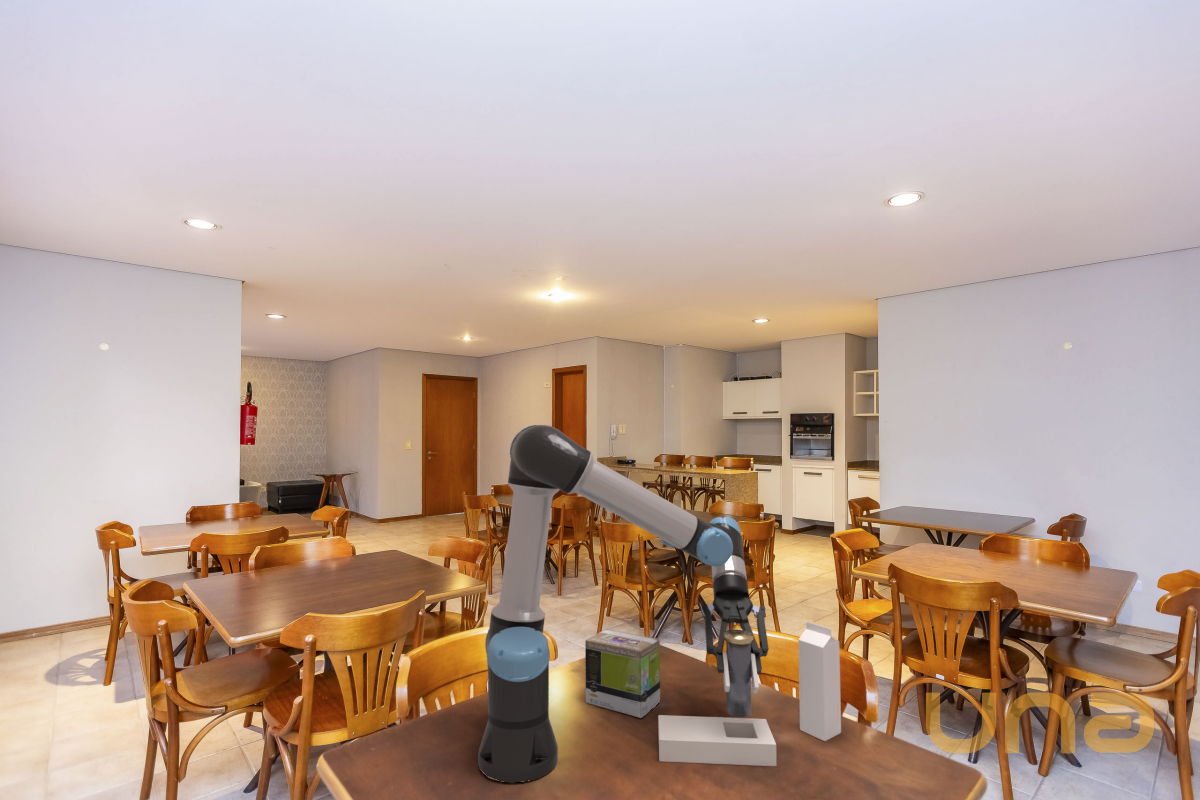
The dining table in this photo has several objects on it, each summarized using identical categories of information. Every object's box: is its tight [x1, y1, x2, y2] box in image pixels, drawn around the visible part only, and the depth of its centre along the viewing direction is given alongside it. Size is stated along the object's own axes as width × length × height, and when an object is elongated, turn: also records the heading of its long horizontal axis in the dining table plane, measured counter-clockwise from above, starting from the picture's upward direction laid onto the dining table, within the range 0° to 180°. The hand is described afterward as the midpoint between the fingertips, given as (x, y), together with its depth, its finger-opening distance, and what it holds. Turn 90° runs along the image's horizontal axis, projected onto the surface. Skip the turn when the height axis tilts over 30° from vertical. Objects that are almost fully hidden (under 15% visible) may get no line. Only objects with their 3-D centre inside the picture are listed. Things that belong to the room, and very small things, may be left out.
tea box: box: [584, 628, 661, 719], centre depth 139 cm, size 15×10×15 cm, turn 58°
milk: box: [798, 621, 842, 742], centre depth 126 cm, size 6×6×22 cm
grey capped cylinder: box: [724, 628, 755, 718], centre depth 119 cm, size 6×6×15 cm
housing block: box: [657, 714, 778, 767], centre depth 119 cm, size 22×10×4 cm, turn 85°
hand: (741, 689), depth 115 cm, fingers closed on grey capped cylinder, 5 cm apart
